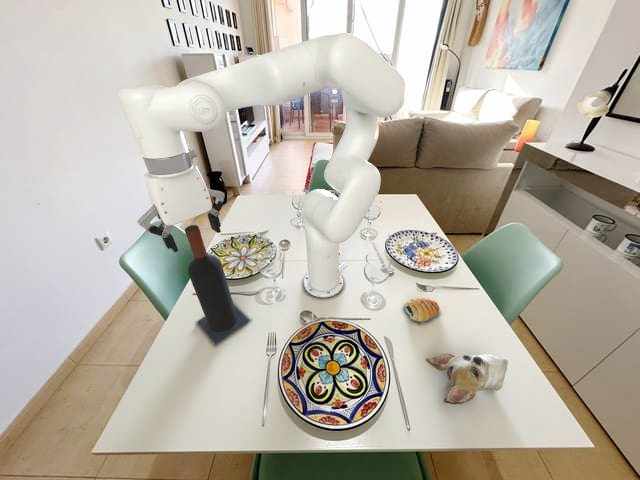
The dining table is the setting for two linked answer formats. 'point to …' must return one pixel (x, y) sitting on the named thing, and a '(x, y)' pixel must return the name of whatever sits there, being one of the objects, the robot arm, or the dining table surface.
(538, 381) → the dining table surface
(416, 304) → the pastry
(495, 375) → the ceramic sculpture
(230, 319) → the wine bottle
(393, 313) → the dining table surface
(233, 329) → the mat
